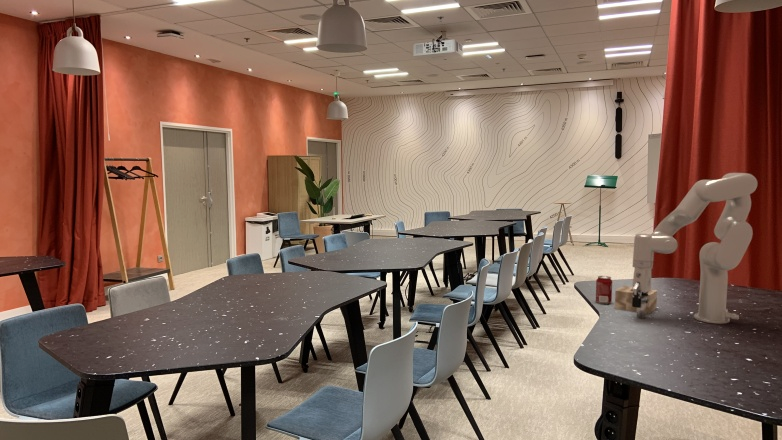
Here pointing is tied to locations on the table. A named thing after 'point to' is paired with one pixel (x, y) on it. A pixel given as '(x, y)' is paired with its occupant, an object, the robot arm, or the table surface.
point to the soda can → (604, 290)
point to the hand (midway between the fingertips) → (639, 304)
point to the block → (626, 295)
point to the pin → (642, 307)
